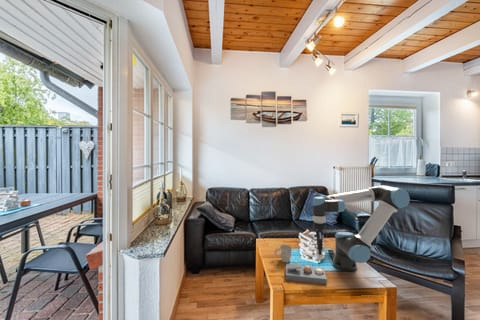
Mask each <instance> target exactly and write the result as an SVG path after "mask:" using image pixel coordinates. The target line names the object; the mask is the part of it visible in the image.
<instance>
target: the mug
mask: <svg viewBox="0 0 480 320" xmlns="http://www.w3.org/2000/svg"><path fill="white" fill-rule="evenodd" d="M292 249H293V247H292V246H291V245H289V244H281V245H280V246H279V248H276V249H275V250H274V255H275V256H276V257H277V258H280V259H281V261H282V262H283V263H290V262H291V256H292V251H293V250H292ZM278 251H280V255H278V254H277V252H278ZM289 261H290V262H289Z"/></svg>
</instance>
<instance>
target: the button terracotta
mask: <svg viewBox="0 0 480 320" xmlns="http://www.w3.org/2000/svg"><path fill="white" fill-rule="evenodd" d="M303 266H304V272H305V273H311V267H312V266H311V265H308V264H305V265H303Z"/></svg>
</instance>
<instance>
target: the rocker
mask: <svg viewBox="0 0 480 320" xmlns="http://www.w3.org/2000/svg"><path fill="white" fill-rule="evenodd" d="M301 266H302V263H301V262H297V263H288V269H289V270H292V269H301Z"/></svg>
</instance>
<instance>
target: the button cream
mask: <svg viewBox="0 0 480 320" xmlns="http://www.w3.org/2000/svg"><path fill="white" fill-rule="evenodd" d="M316 274H318V275H323V270H322V269H319V268H317V269H316Z"/></svg>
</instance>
